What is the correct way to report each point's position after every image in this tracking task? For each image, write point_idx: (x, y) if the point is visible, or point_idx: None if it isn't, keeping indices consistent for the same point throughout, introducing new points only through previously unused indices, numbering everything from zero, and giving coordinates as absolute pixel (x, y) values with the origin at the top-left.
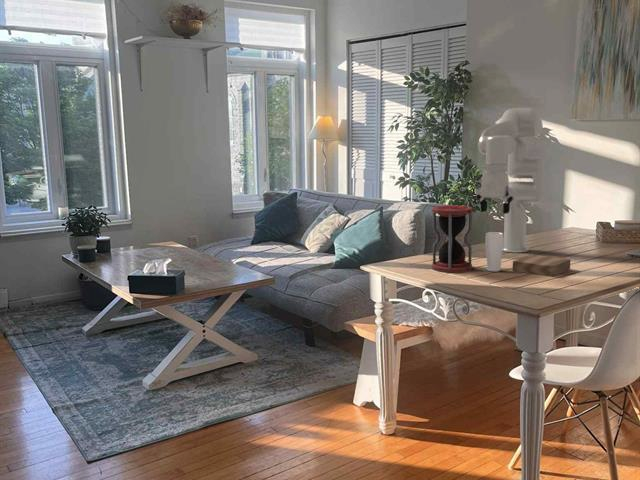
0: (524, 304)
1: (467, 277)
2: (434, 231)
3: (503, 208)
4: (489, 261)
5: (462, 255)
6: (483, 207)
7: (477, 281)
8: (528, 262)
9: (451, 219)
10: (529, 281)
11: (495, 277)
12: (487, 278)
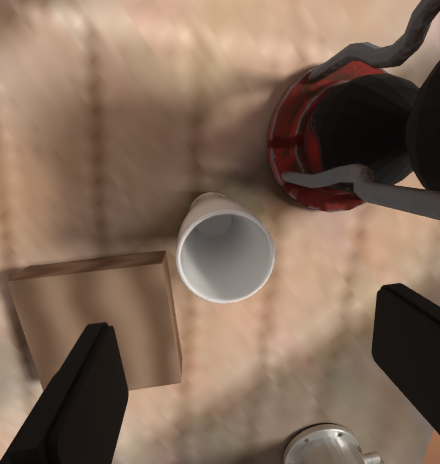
0: None
1: (211, 56)
2: None
3: (86, 366)
4: (214, 194)
5: (313, 137)
6: (413, 326)
7: (145, 24)
8: (107, 279)
9: None
10: (26, 162)
11: (142, 130)
12: (151, 96)
